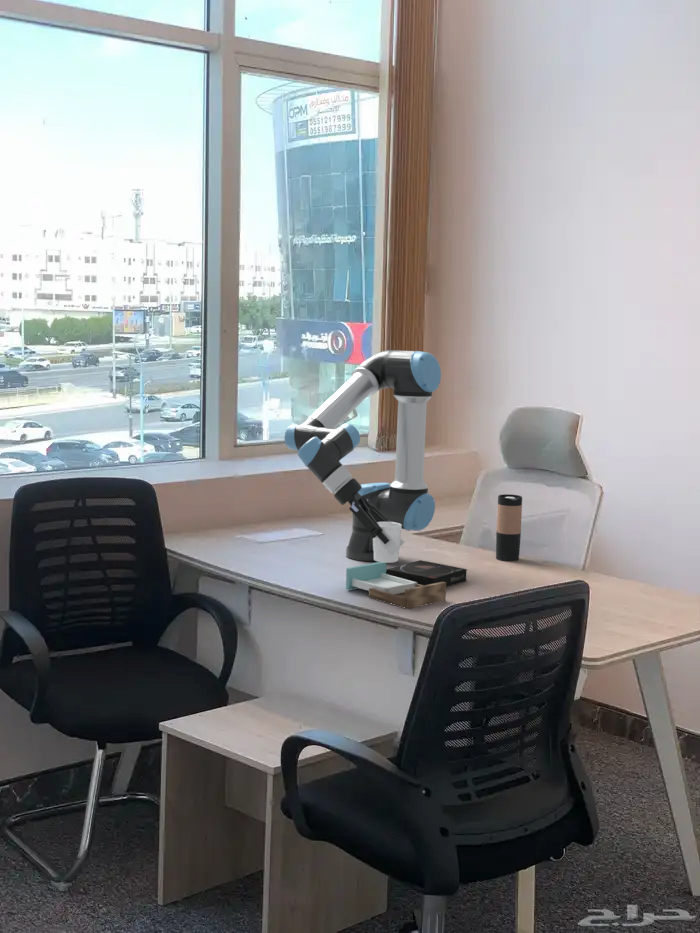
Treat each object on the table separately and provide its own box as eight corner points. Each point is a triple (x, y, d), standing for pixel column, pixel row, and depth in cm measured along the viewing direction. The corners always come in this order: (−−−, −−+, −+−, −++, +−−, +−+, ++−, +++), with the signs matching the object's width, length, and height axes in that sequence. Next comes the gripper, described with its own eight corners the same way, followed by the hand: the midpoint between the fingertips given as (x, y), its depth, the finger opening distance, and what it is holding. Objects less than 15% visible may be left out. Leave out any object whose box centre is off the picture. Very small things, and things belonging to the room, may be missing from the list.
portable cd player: (418, 572, 347) (418, 559, 347) (466, 582, 336) (466, 569, 336) (384, 582, 334) (384, 568, 334) (433, 592, 324) (433, 578, 323)
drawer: (406, 589, 324) (407, 572, 324) (445, 600, 314) (446, 582, 313) (368, 597, 315) (369, 579, 314) (407, 608, 304) (408, 590, 303)
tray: (382, 582, 331) (383, 561, 330) (419, 592, 320) (420, 571, 319) (346, 589, 322) (346, 568, 321) (382, 600, 311) (383, 578, 310)
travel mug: (501, 555, 372) (503, 493, 369) (523, 558, 368) (526, 496, 365) (491, 559, 366) (493, 496, 363) (513, 562, 362) (516, 499, 359)
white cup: (367, 557, 321) (368, 522, 319) (393, 556, 324) (394, 521, 322) (377, 564, 314) (379, 527, 312) (404, 562, 316) (406, 526, 315)
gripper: (341, 489, 329) (395, 549, 328) (324, 500, 309) (382, 564, 308) (360, 472, 328) (414, 532, 327) (344, 482, 308) (402, 546, 307)
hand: (398, 548), depth 317 cm, fingers closed on white cup, 8 cm apart
